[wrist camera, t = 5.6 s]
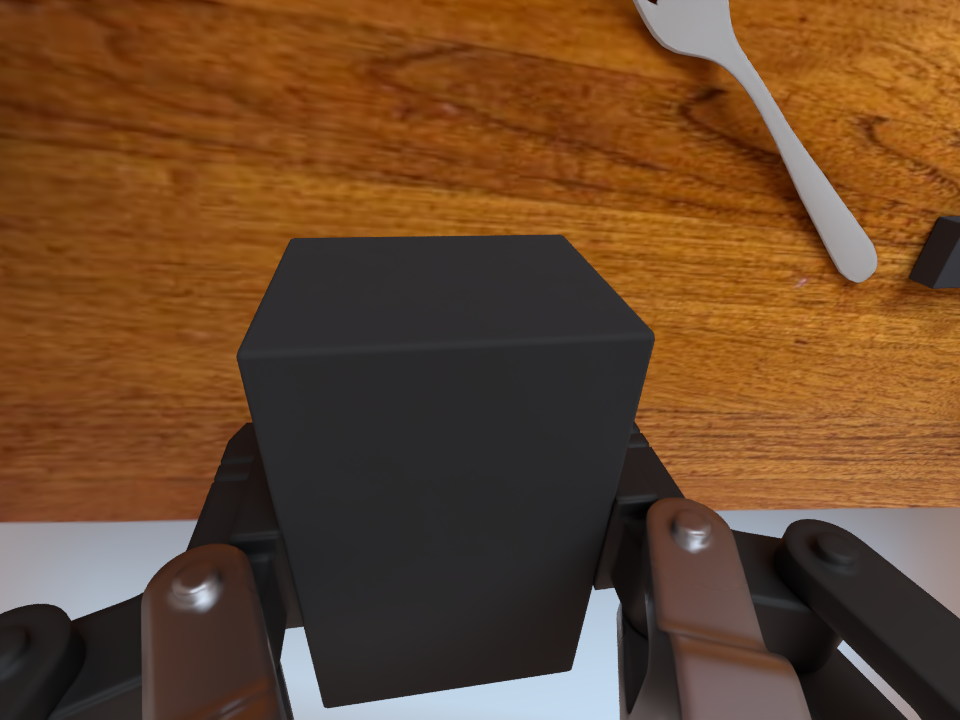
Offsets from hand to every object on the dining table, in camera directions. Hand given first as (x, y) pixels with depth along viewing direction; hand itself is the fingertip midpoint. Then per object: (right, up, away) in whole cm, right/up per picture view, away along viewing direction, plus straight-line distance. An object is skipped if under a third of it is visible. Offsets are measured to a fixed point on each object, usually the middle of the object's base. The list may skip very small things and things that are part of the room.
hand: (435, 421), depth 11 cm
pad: (0, 0, 0) cm, 0 cm away
